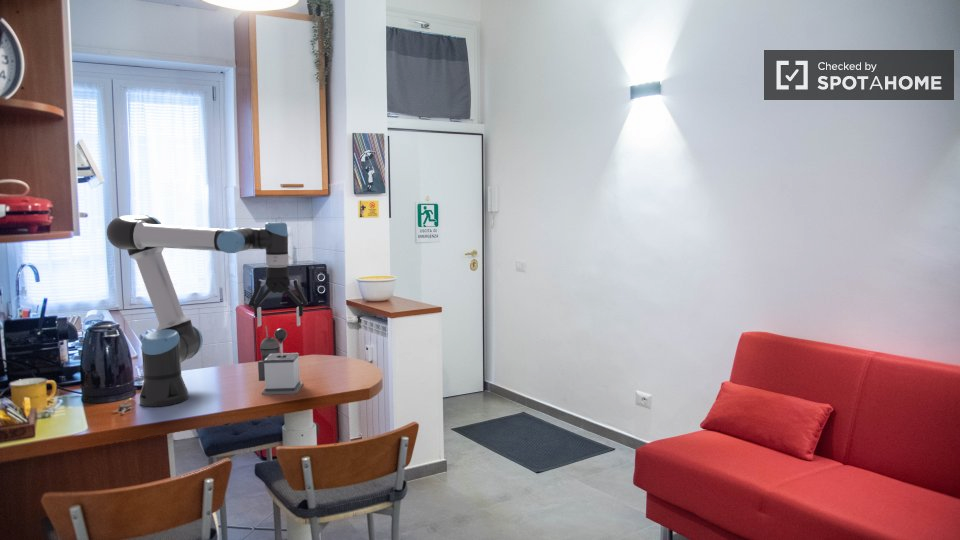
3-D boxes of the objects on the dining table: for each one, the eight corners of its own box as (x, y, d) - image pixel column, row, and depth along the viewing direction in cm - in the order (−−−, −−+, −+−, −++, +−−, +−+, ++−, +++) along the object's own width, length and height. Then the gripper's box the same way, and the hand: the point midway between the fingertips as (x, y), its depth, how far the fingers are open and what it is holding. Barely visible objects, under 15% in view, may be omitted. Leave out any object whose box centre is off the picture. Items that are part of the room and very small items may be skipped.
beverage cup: (275, 380, 258) (272, 328, 255) (257, 379, 259) (254, 327, 257) (284, 375, 265) (282, 324, 262) (267, 374, 266) (264, 323, 264)
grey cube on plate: (255, 394, 239) (253, 361, 238) (263, 385, 251) (262, 353, 250) (296, 393, 240) (295, 360, 239) (303, 384, 252) (301, 352, 251)
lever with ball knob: (268, 385, 241) (266, 330, 239) (273, 379, 249) (271, 326, 247) (291, 384, 242) (289, 330, 239) (296, 378, 250) (294, 326, 247)
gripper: (238, 267, 236) (240, 328, 238) (311, 267, 238) (313, 327, 240) (244, 265, 243) (246, 323, 246) (315, 264, 245) (316, 323, 248)
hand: (279, 325), depth 243 cm, fingers open, 13 cm apart
